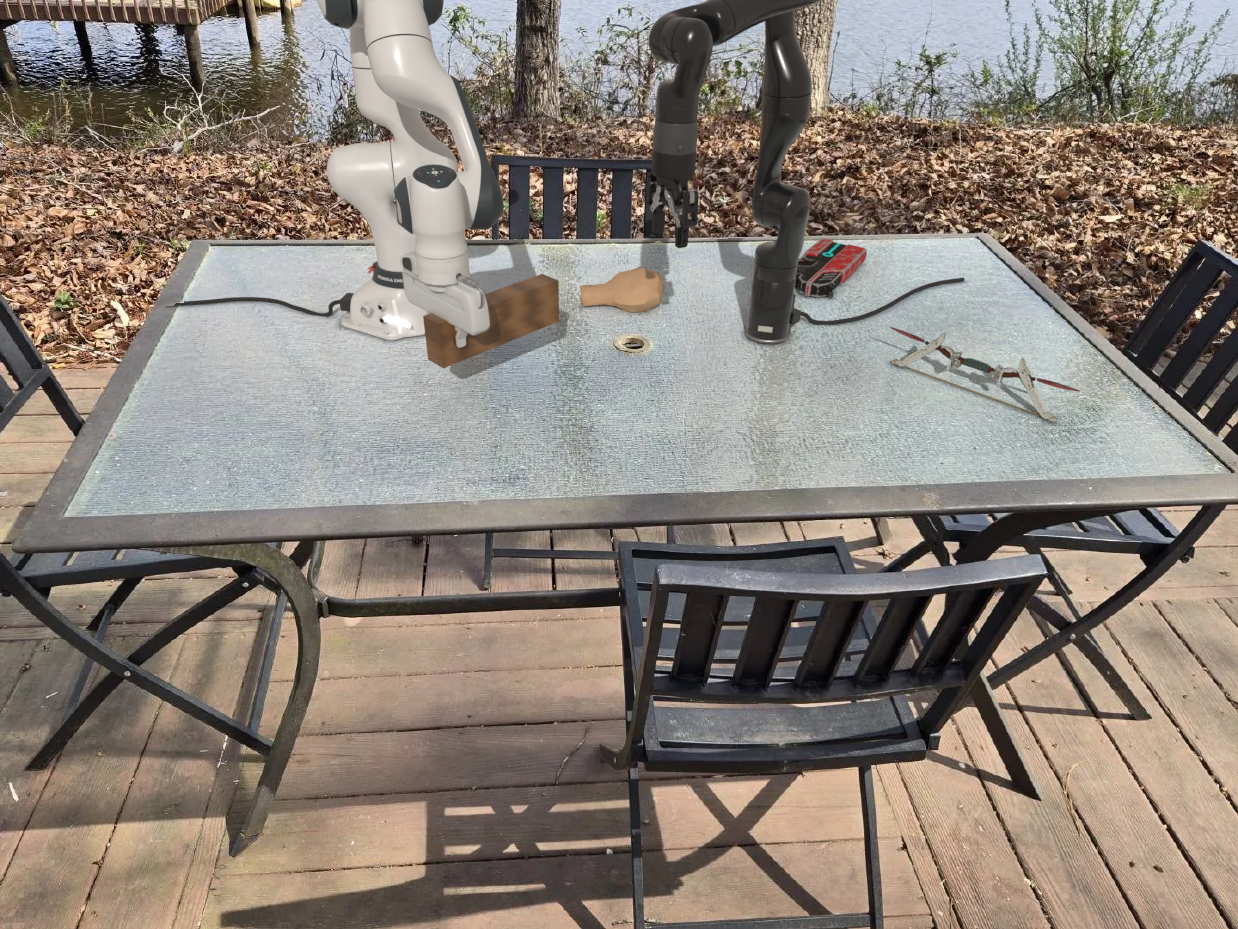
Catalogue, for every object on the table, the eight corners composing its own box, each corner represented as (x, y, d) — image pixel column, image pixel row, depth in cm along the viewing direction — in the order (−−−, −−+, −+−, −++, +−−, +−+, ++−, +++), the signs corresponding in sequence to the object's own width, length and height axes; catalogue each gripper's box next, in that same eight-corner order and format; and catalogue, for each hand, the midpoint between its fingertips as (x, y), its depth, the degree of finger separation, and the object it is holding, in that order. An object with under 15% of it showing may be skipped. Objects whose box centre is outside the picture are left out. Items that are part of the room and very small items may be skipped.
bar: (443, 368, 155) (438, 324, 151) (427, 359, 158) (422, 315, 153) (559, 321, 172) (558, 280, 167) (543, 314, 175) (542, 273, 170)
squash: (667, 316, 202) (664, 283, 196) (581, 324, 204) (575, 291, 198) (665, 291, 210) (662, 258, 204) (583, 298, 212) (577, 266, 205)
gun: (756, 267, 217) (831, 286, 209) (802, 230, 239) (871, 246, 231) (754, 284, 219) (828, 303, 212) (800, 246, 241) (868, 263, 233)
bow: (1069, 424, 166) (1086, 377, 160) (1066, 427, 164) (1083, 380, 159) (885, 357, 187) (894, 314, 181) (880, 360, 186) (890, 317, 180)
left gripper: (496, 279, 145) (500, 354, 153) (423, 245, 157) (430, 317, 164) (465, 289, 141) (471, 365, 149) (393, 254, 153) (402, 326, 161)
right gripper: (715, 155, 145) (707, 249, 154) (673, 135, 156) (667, 224, 165) (676, 159, 143) (670, 255, 152) (635, 139, 153) (632, 230, 162)
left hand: (449, 339), depth 157 cm, fingers closed on bar, 4 cm apart
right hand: (669, 239), depth 158 cm, fingers open, 8 cm apart
